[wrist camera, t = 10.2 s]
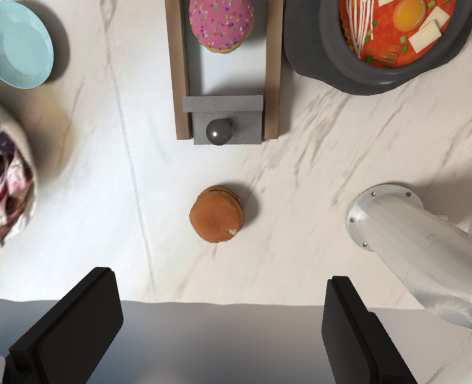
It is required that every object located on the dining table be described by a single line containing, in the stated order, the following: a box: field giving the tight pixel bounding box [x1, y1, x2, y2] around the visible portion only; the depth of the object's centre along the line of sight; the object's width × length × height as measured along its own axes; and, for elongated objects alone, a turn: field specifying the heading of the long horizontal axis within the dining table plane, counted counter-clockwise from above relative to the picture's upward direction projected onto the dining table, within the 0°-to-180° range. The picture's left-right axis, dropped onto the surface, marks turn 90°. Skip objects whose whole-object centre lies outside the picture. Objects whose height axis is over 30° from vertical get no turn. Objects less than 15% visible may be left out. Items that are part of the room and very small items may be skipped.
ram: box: [182, 95, 263, 145], centre depth 34 cm, size 11×7×10 cm, turn 91°
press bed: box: [165, 0, 283, 140], centre depth 33 cm, size 16×24×6 cm, turn 1°
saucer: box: [0, 0, 54, 89], centre depth 37 cm, size 12×12×2 cm
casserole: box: [282, 0, 472, 96], centre depth 30 cm, size 25×19×8 cm
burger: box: [189, 186, 244, 243], centre depth 42 cm, size 10×9×5 cm
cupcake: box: [188, 0, 254, 54], centre depth 30 cm, size 9×8×12 cm
